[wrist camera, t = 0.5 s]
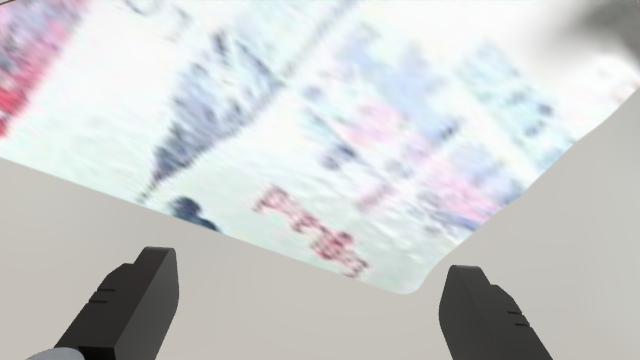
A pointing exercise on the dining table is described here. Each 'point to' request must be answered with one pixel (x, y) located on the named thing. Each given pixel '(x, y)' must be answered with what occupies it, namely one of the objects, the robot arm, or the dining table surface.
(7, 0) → the tin
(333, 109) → the dining table surface
